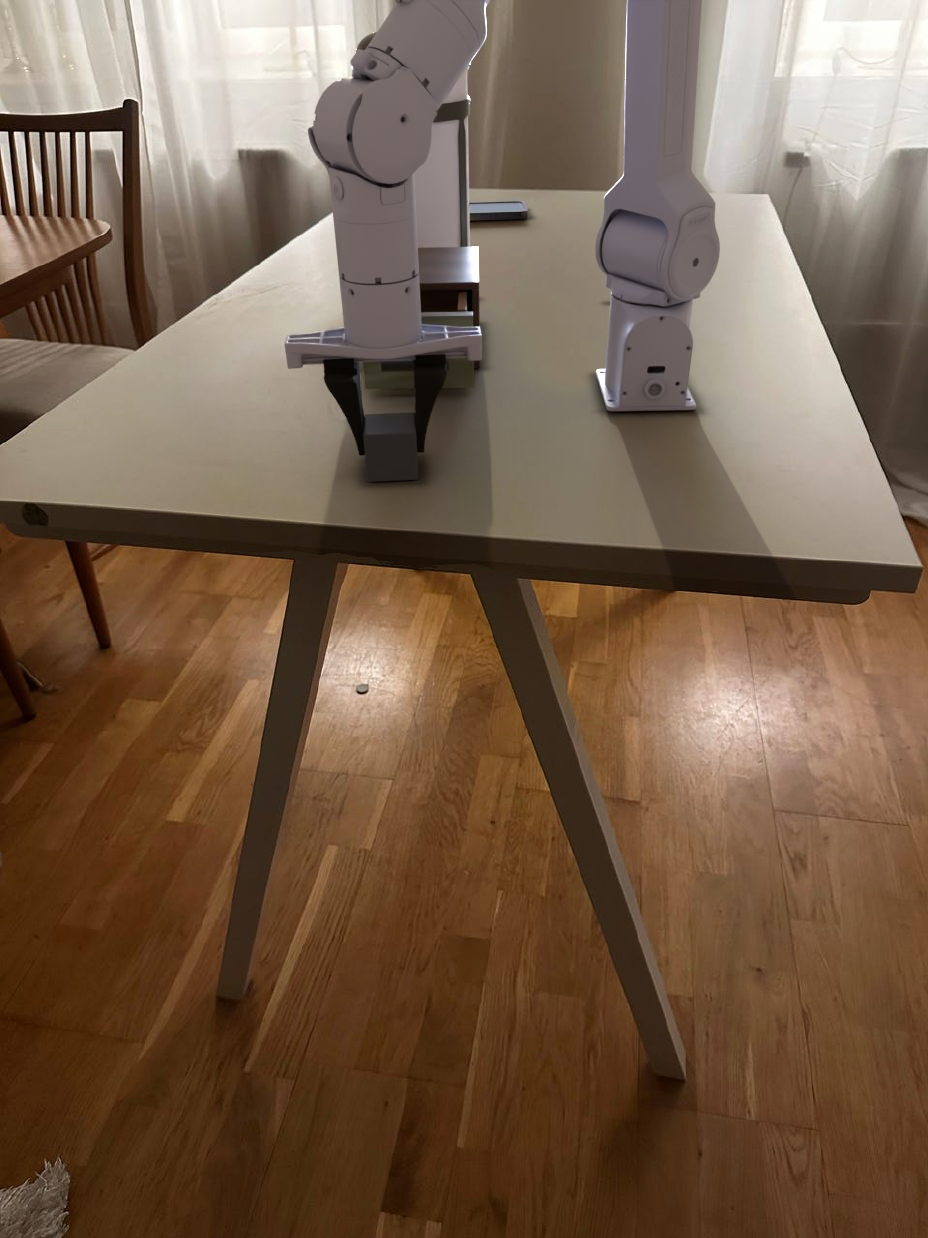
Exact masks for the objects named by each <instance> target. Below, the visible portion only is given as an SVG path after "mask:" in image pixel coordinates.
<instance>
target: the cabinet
mask: <svg viewBox="0 0 928 1238" xmlns="http://www.w3.org/2000/svg"><path fill="white" fill-rule="evenodd" d="M479 252H480V251H479V246H470V247H432V248H418V265H419V282H420V291H421V290H467V305H468V312H473V327H480V328H481V326H480V325H481V324H480V323H481V322H480V319H481V317H480V256H479V254H480V253H479ZM480 368H481V360H476V361H474V369H480Z"/></svg>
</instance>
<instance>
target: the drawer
mask: <svg viewBox="0 0 928 1238" xmlns="http://www.w3.org/2000/svg"><path fill="white" fill-rule="evenodd" d="M420 302H421V323H422V324H427V325H440V326H454V327H473V312H468V305H467V290H421V291H420ZM446 368H447V375H446V379H445V382H444V385H443V387H442V388H441V389H460V388H461V389H467V388H470V389H471V388H475V368H474V361H470V360H468V359H467V358H449V359H446ZM362 370H363V371H362V373H363V381H364V383H363V384H364V390H400V389H402V390H406V389H411V390H413V389H415V386H414V368H413V360H403V361H381V362H362Z"/></svg>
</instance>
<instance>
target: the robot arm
mask: <svg viewBox="0 0 928 1238" xmlns="http://www.w3.org/2000/svg"><path fill="white" fill-rule="evenodd" d="M394 1H395V5H394V6H393V7H392V9H391V11H390V12H389V14H388V15H387V17H386V18H385V19H384V21H383V23H382V24H381V25H380V26H379V28H378V30H377V31H376V32H377V33H376V35H375V36H374V38H373V39H372V40H371V42H370V43H369V45H368V46H367V48H366V50H357V52H356V51H355V53H354V55H353V56H352V58H351V59H350V62H349V63H350V65H351V69H352V67H353V69H352V71H351V77H343V78H341V80H335V81H334V82H332V83H331V84H330V85H329V86H327V87H326V88H325V90H324V91H323V92H322V93H321V95H320V97H319V98H318V101H317V103H316V105H315V108H314V109H315V110H314V115H315V117H314V120H313V124H312V126H310V127H308V128H307V135H308V140H309V143H310V146H311V148H312V150H313V152H314V155H315V156H316V158H317V159H318V160H319V161H320V162H321V163H322V165H323V166H324V167H325V169H326V171H327V174H328V179H329V188H330V189H329V190H330V197H331V211H332V219H333V220H332V221H333V228H334V229H333V230H334V239H335V249H336V259H337V269H338V279H339V289H340V299H341V308H342V309H341V311H342V318H343V319H342V320H343V327H339V328H333V329H327V330H321V331H314V332H307V333H306V332H305V333H297V334H296V333H295V334H287V335H286V337H285V341H284V350H285V357H286V358H285V359H286V364H287V365H286V366H287V369H288V370H291V369H301V368H303V367H304V366H308V365H311V366H313V365H323V382H324V384H325V386H326V388H327V390H328V392H329V393H330V394H331V396H332V397H333V398H334V400H335V402H336V403H337V404H338V405H337V406H338V407H339V408H340V410H341V412H342V413H343V415H344V417H345V419H346V421H347V424H348V425H349V429H350V431H351V433H352V436H353V438H354V441H355V444H356V449H357V453H358V456H363V457H364V456H365V448H364V437H363V434H364V418H365V411H364V405H363V398H362V395H363V394H362V383H361V370H360V363H363V362H381V361H403V360H413V368H414V386H415V388H414V412H415V424H416V443H417V454H421V453H422V454H423V453H425V446H426V445H425V444H426V438H427V437H426V436H427V431H428V427H429V423H430V419H431V416H432V412H433V409H434V407H435V404H436V402H437V398H438V397H439V395H440V393H441V390H442V389H443V388H442V387H443V385H444V382H445V379H446V375H447V368H446V359H449V358H467V359H468V360H470V361H476V360H480V361H483V334H482V330H481V326H480V327H454V326H440V325H427V324H422V323H421V302H420V282H419V265H418V245H417V224H416V203H415V183H414V172H415V171H416V170H417V169H418V167H420V166H421V165H422V164H424V163H425V161H426V159H427V156H428V153H429V150H430V145H431V128H432V123H433V120H434V118H435V117H436V115H437V111H438V109H439V108H440V106H441V105H442V103H443V102H444V100H445V99H446V97H447V96H448V94H449V93H450V92H451V90H452V89H453V87H454V86H455V84H456V83H457V81H458V80H459V78H460V77H461V75H462V74H463V72H464V71H465V70H466V68H467V67H468V65H469V64H470V62H471V63H472V61H473V59H474V58H475V57H476V55H477V53H478V52H479V51H480V49H481V47H482V46H483V45H484V43H485V42H486V39H487V36H488V35H487V34H488V33H487V32H488V28H487V16H486V15H487V14H486V8H487V6H488V4H489V3H490V2H491V0H394ZM702 4H703V0H626V21H625V26H626V27H625V28H626V29H625V33H626V34H625V72H624V73H625V74H624V76H625V77H624V79H625V80H624V120H623V121H624V123H623V125H624V126H623V127H624V128H623V130H624V131H623V170H622V171H623V172H622V173H623V174H622V176H621V177H620V179H619V180H618V181H617V182H615V184H614V185H613V186H612V187H611V188H610V189H609V190H608V191H607V193H605V195H604V196H603V215H602V220H601V223H600V227H599V229H598V232H597V235H596V239H595V249H594V251H595V252H594V253H595V260H596V263H597V265H598V268H599V270H600V271H601V272H602V273H603V274H604V275H605V276H606V285H605V287H606V288H607V289H610V301H609V302H610V303H609V304H610V305H609V314H608V315H609V317H608V328H607V340H606V341H607V342H606V346H607V347H606V354H605V355H606V356H605V368H598V369H596V371H595V375H596V378H597V383H598V386H599V389H600V392H601V396H602V398H603V399H602V400H603V402H604V405H605V408H606V410H607V411H608V412H649V411H651V412H652V411H657V412H658V411H659V412H660V411H661V412H662V411H694V410H696V409H697V403H696V401H695V399H694V397H693V395H692V393H691V391H690V389H689V381H690V380H689V379H690V373H691V364H692V358H693V349H694V337H693V334H692V331H691V327H690V325H691V318H692V312H693V311H692V310H693V302H694V300H696V299H699V298H701V293H702V292H703V291H704V289H705V288H707V286H708V285H709V283H710V282H711V280H712V278H713V276H714V275H715V273H716V270H717V267H718V264H719V261H720V260H719V259H720V252H721V251H720V250H721V243H720V238H719V234H718V231H717V228H716V221H715V220H716V218H715V217H716V201H715V200H714V199H713V197H712V196H711V194H710V193H709V192H708V191H707V189H706V188H705V187H704V186H703V184H702V183H701V182H700V181H699V179H698V178H697V177H696V176H695V174H694V172H693V170H692V168H693V167H692V165H693V152H694V151H693V150H694V135H695V134H694V133H695V119H696V118H695V117H696V102H697V101H696V100H697V86H698V84H697V83H698V69H699V55H700V39H701V38H700V36H701V21H702V7H703V6H702Z"/></svg>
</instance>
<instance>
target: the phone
mask: <svg viewBox="0 0 928 1238" xmlns="http://www.w3.org/2000/svg"><path fill="white" fill-rule="evenodd" d="M528 213H529V212H528V207H527V206H526V203H525V201H523V200H506V201H475V202H473V201H472V202H470V201H469V219H470V221H499V220H525V219H527V218H528V215H529V214H528Z"/></svg>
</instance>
